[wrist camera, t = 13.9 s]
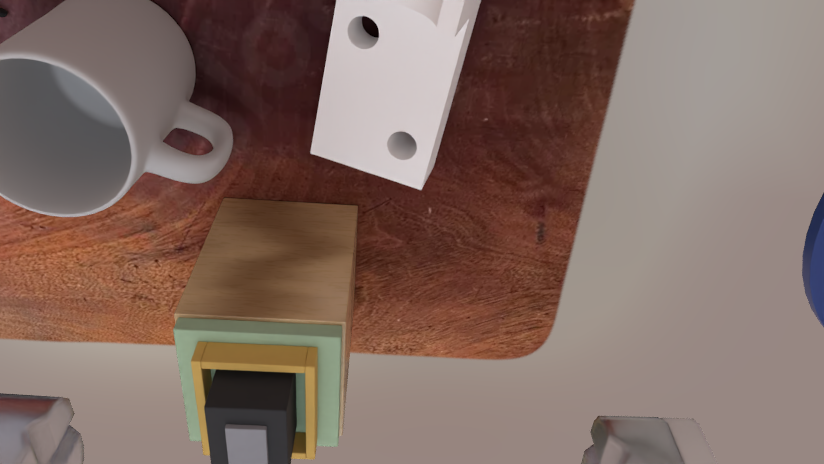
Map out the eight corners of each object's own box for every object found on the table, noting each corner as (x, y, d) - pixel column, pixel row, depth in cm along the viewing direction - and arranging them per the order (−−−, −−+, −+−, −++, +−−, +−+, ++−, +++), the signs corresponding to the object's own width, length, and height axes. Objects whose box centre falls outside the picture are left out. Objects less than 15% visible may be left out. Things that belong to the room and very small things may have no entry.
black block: (295, 360, 36) (285, 415, 33) (297, 424, 39) (287, 481, 36) (219, 356, 36) (202, 412, 33) (226, 421, 39) (210, 478, 36)
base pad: (342, 324, 36) (338, 358, 34) (339, 433, 41) (335, 468, 39) (178, 316, 36) (164, 349, 34) (193, 427, 40) (182, 462, 38)
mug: (37, 92, 41) (-66, 180, 32) (63, -41, 37) (-47, 16, 28) (228, 167, 44) (184, 267, 35) (272, 51, 40) (235, 130, 31)
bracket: (369, -81, 37) (320, -65, 31) (493, -44, 37) (469, -19, 30) (330, 132, 44) (283, 181, 38) (433, 166, 44) (404, 221, 37)
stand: (357, 205, 46) (346, 322, 36) (353, 307, 51) (342, 436, 41) (223, 197, 46) (173, 313, 36) (232, 301, 51) (190, 430, 41)
